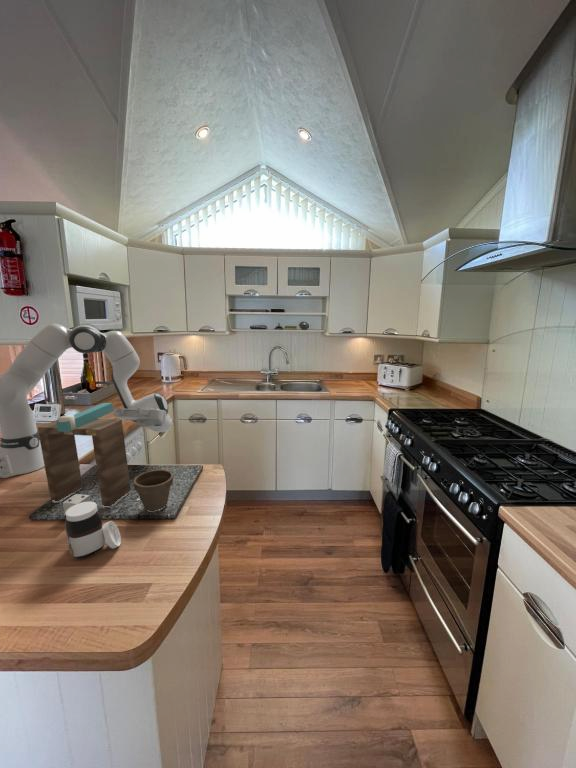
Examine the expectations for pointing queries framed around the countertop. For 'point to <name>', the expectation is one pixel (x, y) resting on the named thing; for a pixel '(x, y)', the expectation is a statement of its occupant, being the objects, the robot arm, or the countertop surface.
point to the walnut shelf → (66, 465)
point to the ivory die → (75, 501)
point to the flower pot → (154, 488)
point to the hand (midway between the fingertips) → (127, 410)
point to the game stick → (83, 417)
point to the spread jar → (88, 531)
